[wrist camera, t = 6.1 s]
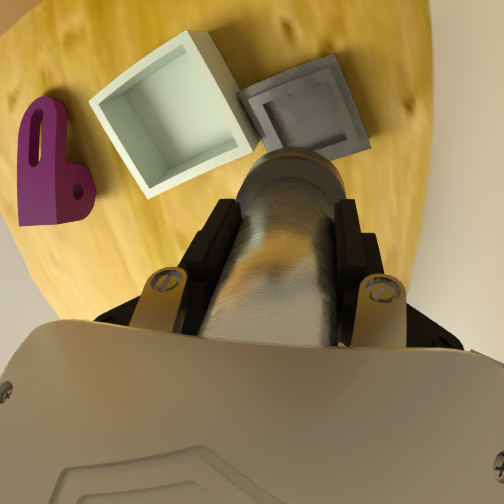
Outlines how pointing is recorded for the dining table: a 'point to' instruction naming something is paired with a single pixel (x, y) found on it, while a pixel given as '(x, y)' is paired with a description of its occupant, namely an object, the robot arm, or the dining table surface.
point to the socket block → (307, 110)
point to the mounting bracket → (49, 170)
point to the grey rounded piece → (281, 255)
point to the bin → (176, 114)
